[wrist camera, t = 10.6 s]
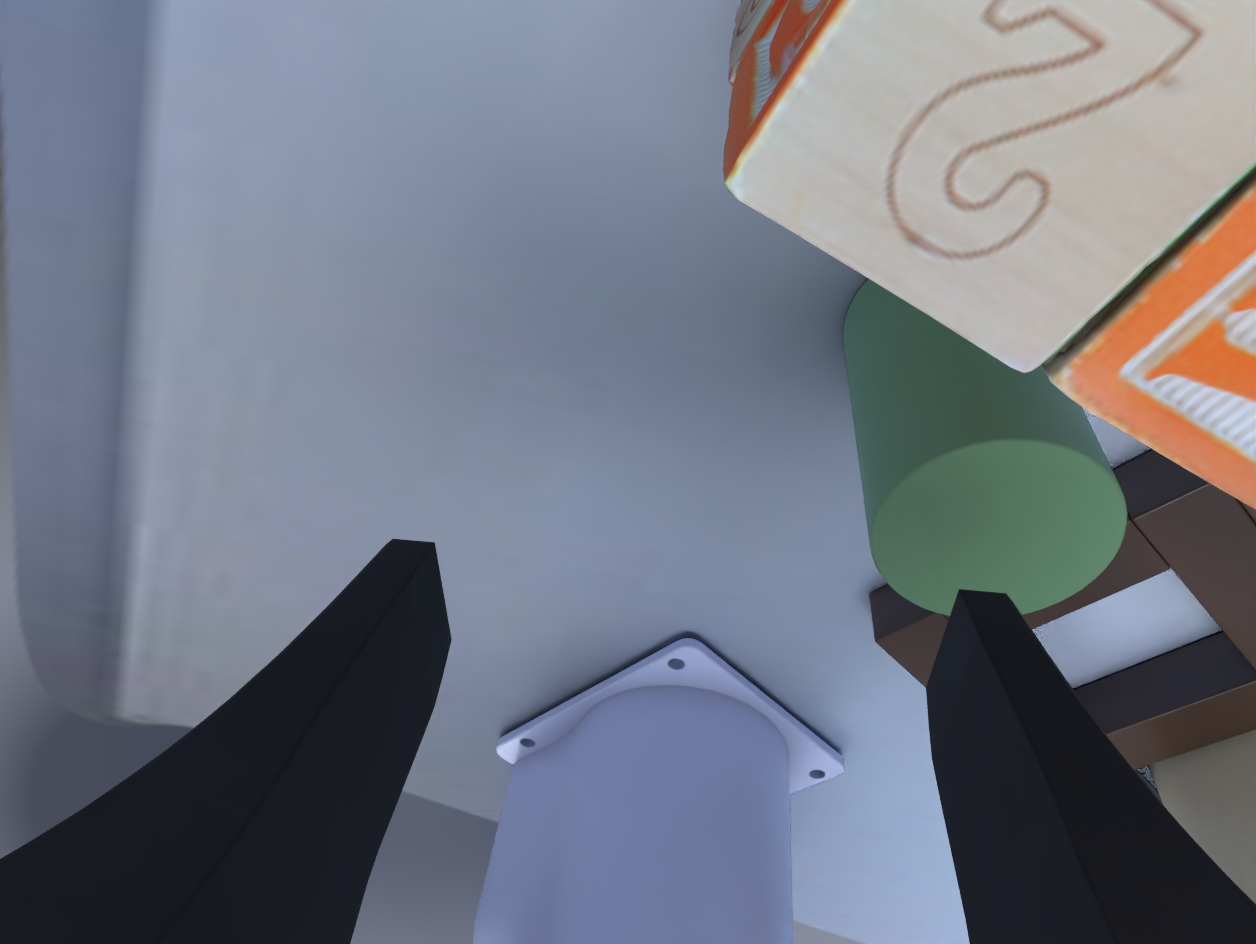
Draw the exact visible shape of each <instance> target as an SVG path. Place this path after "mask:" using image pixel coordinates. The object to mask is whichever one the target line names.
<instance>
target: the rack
mask: <svg viewBox="0 0 1256 944" xmlns="http://www.w3.org/2000/svg"><path fill="white" fill-rule="evenodd" d="M1113 473H1114V475H1115V477H1116V479H1117V481H1118V483H1119V485H1120V487H1121V490H1122V492H1123V495H1124V497H1125V502H1126V507H1127V524H1126V529H1125V534H1124V538H1123V540H1122V543H1121V545H1120V548H1119V550H1118V551H1117V553H1116V555H1115V556H1114V558H1113V560H1112V561H1111V562H1110V563H1109V565H1108V566H1107V567H1106V569H1105V570H1104V571H1103V572H1102V573H1101V574H1100V575H1099V576H1098V577H1097V578H1096V579H1095V580H1093V581H1092V582H1091V583H1089V584H1088V585H1087V586H1086V587H1084V588H1083V589H1081V590H1080V591H1078V592H1077V593H1075V594H1073V595H1072V596H1070V597H1068V598H1066V599H1064V600H1062V601H1060V602H1058V603H1056V604H1054V605H1051V606H1049V607H1046V608H1043V609H1040V610H1037V611H1034V612H1030V613H1027V614H1022V616H1023V618H1024V619H1025V621H1026V622H1027V624H1028V625H1029V627H1030V628H1031V630H1032V629H1034V628H1036V627H1039V626H1041V625H1043V624H1046V623H1048V622H1050V621H1052V620H1055V619H1057V618H1059V617H1062V616H1064V615H1066V614H1068V613H1071V612H1073V611H1075V610H1078V609H1080V608H1082V607H1084V606H1087V605H1089V604H1091V603H1094V602H1096V601H1098V600H1100V599H1103V598H1105V597H1107V596H1110V595H1112V594H1114V593H1116V592H1119V591H1121V590H1123V589H1126V588H1128V587H1130V586H1132V585H1135V584H1137V583H1139V582H1142V581H1144V580H1146V579H1148V578H1151V577H1153V576H1155V575H1158V574H1160V573H1162V572H1164V571H1167V570H1169V569H1170V567H1171V568H1172V569H1173V571H1174V572H1175V573H1176V574H1177V576H1178V577H1179V578H1180V579H1181V580H1182V582H1183V583H1184V584H1185V585H1186V586H1187V588H1188V589H1189V590H1190V591H1191V593H1192V594H1193V595H1194V596H1195V597H1196V599H1197V600H1198V601H1199V602H1200V603H1201V605H1202V606H1203V607H1204V608H1205V610H1206V611H1207V612H1208V613H1209V614H1210V616H1211V617H1212V618H1213V619H1214V620H1215V622H1216V623H1217V624H1218V625H1219V627H1220V628H1221V629H1222V630H1223V631H1224V632H1221V633H1219V634H1216V635H1214V636H1211V637H1209V638H1206V639H1203V640H1201V641H1198V642H1196V643H1193V644H1191V645H1188V646H1186V647H1183V648H1180V649H1178V650H1175V651H1173V652H1170V653H1168V654H1165V655H1163V656H1160V657H1157V658H1155V659H1152V660H1150V661H1147V662H1145V663H1142V664H1140V665H1137V666H1134V667H1132V668H1129V669H1127V670H1124V671H1122V672H1119V673H1117V674H1114V675H1111V676H1109V677H1106V678H1104V679H1101V680H1099V681H1096V682H1094V683H1091V684H1088V685H1086V686H1083V687H1081V688H1078V689H1076V690H1074V692H1075V693H1076V694H1077V696H1078V697H1079V699H1080V700H1081V701H1082V703H1083V704H1084V705H1085V707H1086V708H1087V709H1088V711H1089V712H1090V713H1091V715H1092V716H1093V717H1094V719H1095V720H1096V721H1097V723H1098V724H1099V725H1100V727H1101V728H1102V729H1103V731H1104V732H1105V733H1106V735H1107V736H1108V737H1109V739H1110V740H1111V741H1112V743H1113V744H1114V745H1115V746H1116V748H1117V749H1118V750H1119V752H1120V753H1121V754H1122V755H1123V757H1124V758H1125V759H1126V760H1127V762H1128V763H1129V764H1130V765H1131V767H1132V768H1133V769H1134V770H1135V772H1136V773H1137V774H1138V775H1139V776H1140V778H1141V779H1142V780H1143V781H1144V782H1145V784H1146V785H1147V786H1148V787H1149V789H1150V790H1151V791H1152V792H1153V793H1154V795H1155V796H1156V797H1157V798H1158V799H1159V801H1160V802H1161V803H1162V801H1161V798H1160V796H1159V793H1158V792H1157V791H1156V790H1155V789H1154V788H1153V787H1152V786H1151V785H1150V784H1149V783H1148V782H1147V781H1146V780H1145V779H1144V778H1143V777H1142V776H1141V775H1140V774H1139V773H1138V772H1137V771H1136V769H1139V768H1142V767H1145V766H1148V765H1151V764H1154V763H1157V762H1160V761H1163V760H1166V759H1169V758H1172V757H1175V756H1178V755H1181V754H1184V753H1187V752H1190V751H1193V750H1196V749H1199V748H1202V747H1205V746H1208V745H1211V744H1214V743H1217V742H1220V741H1223V740H1226V739H1229V738H1232V737H1235V736H1238V735H1241V734H1244V733H1247V732H1250V731H1253V730H1256V510H1255V509H1254V508H1252V507H1250V506H1248V505H1247V504H1245V503H1243V502H1242V501H1240V500H1238V499H1236V498H1235V497H1233V496H1231V495H1229V494H1228V493H1226V492H1224V491H1223V490H1221V489H1219V488H1217V487H1216V486H1214V485H1212V484H1211V483H1209V482H1207V481H1205V480H1204V479H1202V478H1200V477H1198V476H1197V475H1195V474H1193V473H1192V472H1190V471H1188V470H1186V469H1185V468H1183V467H1181V466H1180V465H1178V464H1176V463H1175V462H1173V461H1171V460H1170V459H1168V458H1166V457H1165V456H1163V455H1161V454H1160V453H1158V452H1156V451H1155V450H1152V451H1150V452H1148V453H1146V454H1144V455H1142V456H1140V457H1138V458H1136V459H1134V460H1132V461H1130V462H1128V463H1126V464H1125V465H1123V466H1121V467H1119V468H1117V469H1115V470H1113ZM869 596H870V604H871V613H872V621H873V629H874V637H875V642H876V643H877V644H878V645H879V646H880V647H882V648H883V649H884V650H885V651H886V652H887V653H888V654H889V655H890V656H892V657H893V658H894V659H895V660H896V661H897V662H898V663H899V664H900V665H901V666H903V667H904V668H905V669H906V670H907V671H908V672H909V673H910V674H911V675H912V676H914V677H915V678H916V679H917V680H918V681H919V682H920V683H921V684H922V685H924V686H925V687H926V685H927V682H928V679H929V676H930V673H931V670H932V668H933V665H934V662H935V659H936V656H937V653H938V650H939V647H940V644H941V641H942V638H943V635H944V632H945V629H946V626H947V623H948V620H949V617H950V616H948V615H944V614H939V613H936V612H933V611H930V610H927V609H924V608H922V607H920V606H918V605H916V604H914V603H912V602H910V601H909V600H907V599H905V598H904V597H902V596H901V595H900V594H899V593H897V592H896V591H895V590H894V589H893V588H892V587H891V586H890V585H887V586H885V587H883V588H881V589H879V590H877V591H875V592H873V593H871V594H870V595H869ZM1162 804H1163V803H1162Z"/></svg>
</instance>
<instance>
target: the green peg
mask: <svg viewBox="0 0 1256 944" xmlns="http://www.w3.org/2000/svg"><path fill="white" fill-rule="evenodd" d="M843 345H844V352H845V360H846V367H847V375H848V382H849V390H850V397H851V405H852V413H853V420H854V428H855V435H856V443H857V450H858V458H859V466H860V473H861V481H862V488H863V496H864V503H865V511H866V518H867V526H868V534H869V541H870V548H871V553H872V557H873V560H874V562H875V565H876V567H877V569H878V571H879V572H880V574H881V575H882V577H883V578H884V580H885V581H886V582H887V583H888V584H889V585H890V586H891V587H892V588H893V589H894V590H895V591H896V592H897V593H899V594H900V595H901V596H902V597H904V598H905V599H907V600H909V601H910V602H912V603H914V604H916V605H918V606H920V607H922V608H924V609H927V610H930V611H933V612H936V613H939V614H944V615H948V616H950V614H951V611H952V608H953V605H954V602H955V599H956V596H957V593H958V590H959V589H964V590H975V591H986V592H998V593H1006V594H1007V595H1008V596H1009V597H1010V599H1011V600H1012V601H1013V603H1014V604H1015V606H1016V607H1017V609H1018V610H1019V612H1020V613H1021V615H1022V614H1027V613H1030V612H1034V611H1037V610H1040V609H1043V608H1046V607H1049V606H1051V605H1054V604H1056V603H1058V602H1060V601H1062V600H1064V599H1066V598H1068V597H1070V596H1072V595H1073V594H1075V593H1077V592H1078V591H1080V590H1081V589H1083V588H1084V587H1086V586H1087V585H1088V584H1089V583H1091V582H1092V581H1093V580H1095V579H1096V578H1097V577H1098V576H1099V575H1100V574H1101V573H1102V572H1103V571H1104V570H1105V569H1106V567H1107V566H1108V565H1109V563H1110V562H1111V561H1112V560H1113V558H1114V556H1115V555H1116V553H1117V551H1118V550H1119V548H1120V545H1121V543H1122V540H1123V538H1124V534H1125V529H1126V524H1127V507H1126V502H1125V497H1124V495H1123V492H1122V490H1121V487H1120V485H1119V483H1118V481H1117V479H1116V477H1115V475H1114V473H1113V471H1112V469H1111V467H1110V464H1109V462H1108V460H1107V458H1106V456H1105V454H1104V452H1103V450H1102V448H1101V446H1100V444H1099V442H1098V440H1097V438H1096V436H1095V434H1094V431H1093V429H1092V427H1091V425H1090V423H1089V421H1088V419H1087V417H1086V415H1085V413H1084V411H1083V409H1082V407H1081V406H1080V405H1079V404H1077V403H1076V402H1075V401H1073V400H1072V399H1070V398H1069V397H1068V396H1066V395H1065V394H1064V393H1063V392H1062V391H1061V390H1059V389H1058V388H1057V387H1056V386H1055V385H1053V384H1052V383H1051V382H1050V380H1049V378H1048V376H1047V374H1046V372H1045V371H1044V369H1043V367H1042V365H1041V366H1039V367H1037V368H1036V369H1034V370H1032V371H1030V372H1027V373H1023V372H1020V371H1018V370H1016V369H1013V368H1011V367H1009V366H1008V365H1006V364H1004V363H1003V362H1001V361H1000V360H998V359H997V358H995V357H993V356H992V355H990V354H989V353H987V352H986V351H984V350H982V349H981V348H979V347H978V346H976V345H975V344H973V343H971V342H970V341H968V340H967V339H965V338H963V337H962V336H960V335H959V334H957V333H956V332H954V331H952V330H951V329H949V328H948V327H946V326H945V325H943V324H941V323H940V322H938V321H937V320H935V319H933V318H932V317H930V316H929V315H927V314H925V313H924V312H922V311H921V310H919V309H917V308H916V307H914V306H912V305H911V304H909V303H908V302H906V301H904V300H903V299H901V298H899V297H898V296H896V295H895V294H893V293H891V292H890V291H888V290H886V289H885V288H883V287H882V286H880V285H878V284H877V283H875V282H873V281H872V280H870V279H868V280H867V281H866V282H865V283H864V284H863V285H862V287H861V288H860V289H859V291H858V292H857V293H856V295H855V297H854V298H853V300H852V302H851V304H850V306H849V309H848V311H847V313H846V317H845V321H844V328H843Z"/></svg>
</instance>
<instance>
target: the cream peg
mask: <svg viewBox="0 0 1256 944" xmlns="http://www.w3.org/2000/svg"><path fill="white" fill-rule="evenodd" d="M1148 766H1149V769H1150V772H1151V774H1152V777H1153V780H1154V782H1155V785H1156V788H1157V790H1158V793H1159V796H1160V798H1161V801H1162V803H1163V805H1164V806H1165V808H1166V809H1167V810H1168V811H1169V812H1170V813H1171V815H1172V816H1173V817H1174V818H1175V819H1176V820H1177V821H1178V823H1179V824H1180V825H1181V826H1182V827H1183V828H1184V829H1185V830H1186V832H1187V833H1188V834H1189V835H1190V836H1191V837H1192V838H1193V839H1194V840H1195V842H1196V843H1197V844H1198V845H1199V846H1200V847H1201V848H1202V849H1203V850H1204V851H1205V852H1206V853H1207V854H1208V855H1209V857H1210V858H1211V859H1212V860H1213V861H1214V862H1215V863H1216V864H1217V865H1218V866H1219V867H1220V868H1221V869H1222V870H1223V871H1224V872H1225V874H1226V875H1227V876H1228V877H1229V878H1230V879H1231V880H1232V881H1233V882H1234V883H1235V884H1236V885H1237V886H1238V887H1239V888H1240V889H1241V890H1242V891H1243V892H1244V893H1245V894H1246V895H1247V896H1248V897H1249V898H1250V899H1251V900H1252V901H1253V902H1254V903H1255V904H1256V730H1253V731H1250V732H1247V733H1244V734H1241V735H1238V736H1235V737H1232V738H1229V739H1226V740H1223V741H1220V742H1217V743H1214V744H1211V745H1208V746H1205V747H1202V748H1199V749H1196V750H1193V751H1190V752H1187V753H1184V754H1181V755H1178V756H1175V757H1172V758H1169V759H1166V760H1163V761H1160V762H1157V763H1154V764H1151V765H1148Z"/></svg>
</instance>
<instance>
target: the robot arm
mask: <svg viewBox="0 0 1256 944" xmlns="http://www.w3.org/2000/svg"><path fill="white" fill-rule="evenodd" d="M450 644H451V634H450V628H449V622H448V617H447V611H446V605H445V599H444V594H443V588H442V582H441V576H440V570H439V565H438V559H437V553H436V547H435V543H434V542H423V541H412V540H400V539H392V540H391V541H390V542H388V543H387V544H386V545H385V546H384V547H383V548H382V549H381V550H380V551H379V553H378V554H377V555H376V556H375V557H374V558H373V559H372V560H371V561H370V562H369V563H368V564H367V565H366V566H365V567H364V568H363V570H362V571H361V572H360V573H359V574H358V575H357V576H356V577H355V578H354V579H353V580H352V581H351V582H350V583H349V584H348V585H347V587H346V588H345V589H344V590H343V591H342V592H341V593H340V594H339V595H338V596H337V597H336V598H335V599H334V600H333V601H332V602H331V603H330V604H329V605H328V606H327V607H326V608H325V609H324V610H323V611H322V612H321V613H320V614H319V615H318V616H317V617H316V618H315V619H314V620H313V621H312V622H311V623H310V624H309V625H308V626H307V627H306V628H305V629H304V630H303V631H302V632H301V633H300V634H299V635H298V636H297V637H296V638H295V639H294V640H293V641H292V642H291V643H290V644H289V645H288V646H287V647H286V648H285V649H284V650H283V651H282V652H281V653H280V654H279V655H278V656H276V657H275V658H274V659H273V660H272V661H271V662H270V663H269V664H268V665H267V666H265V667H264V668H263V669H262V670H261V671H260V672H259V673H258V674H257V675H255V676H254V677H253V678H252V679H251V680H250V681H249V682H248V683H247V684H246V685H244V686H243V687H242V688H241V689H240V690H239V691H238V692H237V693H236V694H234V695H233V696H232V697H231V698H230V699H229V700H228V701H226V702H225V703H224V704H223V705H222V706H220V707H219V708H218V709H217V710H216V711H214V712H213V713H212V714H211V715H210V716H208V717H207V718H206V719H205V720H204V721H202V722H201V723H200V724H199V725H197V726H196V727H195V728H194V729H192V730H191V731H190V732H189V733H187V734H186V735H185V736H183V737H182V738H181V739H180V740H178V741H177V742H176V743H174V744H173V745H172V746H171V747H169V748H168V749H167V750H165V751H164V752H163V753H161V754H160V755H159V756H157V757H156V758H155V759H153V760H152V761H150V762H149V763H148V764H146V765H145V766H143V767H142V768H141V769H139V770H138V771H136V772H135V773H134V774H132V775H131V776H130V777H128V778H127V779H125V780H124V781H122V782H121V783H120V784H118V785H117V786H115V787H114V788H112V789H111V790H109V791H108V792H106V793H105V794H103V795H102V796H101V797H99V798H98V799H96V800H95V801H93V802H92V803H90V804H89V805H88V806H86V807H85V808H83V809H81V810H80V811H78V812H77V813H75V814H73V815H72V816H70V817H69V818H67V819H65V820H64V821H62V822H61V823H59V824H57V825H56V826H54V827H53V828H51V829H49V830H48V831H46V832H45V833H43V834H41V835H40V836H38V837H36V838H35V839H34V840H32V841H30V842H28V843H27V844H25V845H23V846H22V847H20V848H18V849H17V850H15V851H13V852H12V853H10V854H8V855H6V856H5V857H3V858H1V859H0V944H350V942H351V939H352V935H353V932H354V928H355V925H356V921H357V917H358V914H359V911H360V907H361V903H362V900H363V896H364V893H365V890H366V886H367V882H368V879H369V876H370V874H371V871H372V868H373V865H374V862H375V859H376V856H377V853H378V850H379V848H380V845H381V843H382V840H383V837H384V835H385V832H386V830H387V827H388V824H389V822H390V820H391V817H392V815H393V812H394V809H395V807H396V804H397V802H398V799H399V797H400V794H401V792H402V789H403V787H404V784H405V781H406V779H407V776H408V774H409V771H410V769H411V766H412V764H413V761H414V759H415V756H416V753H417V751H418V748H419V746H420V743H421V740H422V738H423V735H424V733H425V730H426V727H427V725H428V722H429V720H430V717H431V714H432V712H433V709H434V706H435V703H436V699H437V695H438V692H439V688H440V684H441V680H442V677H443V673H444V668H445V664H446V660H447V656H448V652H449V648H450ZM675 659H680V660H675ZM926 692H927V705H928V719H929V731H930V742H931V752H932V760H933V765H934V770H935V776H936V780H937V785H938V790H939V795H940V800H941V805H942V810H943V814H944V819H945V824H946V829H947V833H948V838H949V843H950V847H951V852H952V857H953V862H954V866H955V871H956V876H957V880H958V885H959V890H960V895H961V899H962V904H963V909H964V914H965V918H966V924H967V930H968V936H969V942H970V944H1256V904H1255V903H1254V902H1253V901H1252V900H1251V899H1250V898H1249V897H1248V896H1247V895H1246V894H1245V893H1244V892H1243V891H1242V890H1241V889H1240V888H1239V887H1238V886H1237V885H1236V884H1235V883H1234V882H1233V881H1232V880H1231V879H1230V878H1229V877H1228V876H1227V875H1226V874H1225V872H1224V871H1223V870H1222V869H1221V868H1220V867H1219V866H1218V865H1217V864H1216V863H1215V862H1214V861H1213V860H1212V859H1211V858H1210V857H1209V855H1208V854H1207V853H1206V852H1205V851H1204V850H1203V849H1202V848H1201V847H1200V846H1199V845H1198V844H1197V843H1196V842H1195V840H1194V839H1193V838H1192V837H1191V836H1190V835H1189V834H1188V833H1187V832H1186V830H1185V829H1184V828H1183V827H1182V826H1181V825H1180V824H1179V823H1178V821H1177V820H1176V819H1175V818H1174V817H1173V816H1172V815H1171V813H1170V812H1169V811H1168V810H1167V809H1166V808H1165V806H1164V805H1163V804H1162V803H1161V802H1160V801H1159V799H1158V798H1157V797H1156V796H1155V795H1154V793H1153V792H1152V791H1151V790H1150V789H1149V787H1148V786H1147V785H1146V784H1145V782H1144V781H1143V780H1142V779H1141V778H1140V776H1139V775H1138V774H1137V773H1136V772H1135V770H1134V769H1133V768H1132V767H1131V765H1130V764H1129V763H1128V762H1127V760H1126V759H1125V758H1124V757H1123V755H1122V754H1121V753H1120V752H1119V750H1118V749H1117V748H1116V746H1115V745H1114V744H1113V743H1112V741H1111V740H1110V739H1109V737H1108V736H1107V735H1106V733H1105V732H1104V731H1103V729H1102V728H1101V727H1100V725H1099V724H1098V723H1097V721H1096V720H1095V719H1094V717H1093V716H1092V715H1091V713H1090V712H1089V711H1088V709H1087V708H1086V707H1085V705H1084V704H1083V703H1082V701H1081V700H1080V699H1079V697H1078V696H1077V694H1076V693H1075V692H1074V690H1073V689H1072V687H1071V686H1070V685H1069V683H1068V682H1067V680H1066V679H1065V678H1064V676H1063V675H1062V673H1061V672H1060V670H1059V669H1058V668H1057V666H1056V665H1055V663H1054V662H1053V660H1052V659H1051V658H1050V656H1049V655H1048V653H1047V652H1046V650H1045V649H1044V647H1043V646H1042V644H1041V643H1040V641H1039V640H1038V638H1037V637H1036V635H1035V634H1034V633H1033V631H1032V630H1031V628H1030V627H1029V625H1028V624H1027V622H1026V621H1025V619H1024V618H1023V616H1022V615H1021V613H1020V612H1019V610H1018V609H1017V607H1016V606H1015V604H1014V603H1013V601H1012V600H1011V599H1010V597H1009V596H1008V595H1007V594H1006V593H998V592H986V591H975V590H964V589H959V590H958V593H957V596H956V599H955V602H954V605H953V608H952V611H951V614H950V617H949V620H948V623H947V626H946V629H945V632H944V635H943V638H942V641H941V644H940V647H939V650H938V653H937V656H936V659H935V662H934V665H933V668H932V670H931V673H930V676H929V679H928V682H927V685H926ZM496 752H497V754H498V755H499V756H500V757H502V758H503V759H505V760H506V761H508V762H509V763H511V764H512V765H513V768H512V772H511V776H510V780H509V784H508V788H507V792H506V796H505V800H504V804H503V808H502V812H501V816H500V820H499V824H498V828H497V832H496V836H495V840H494V845H493V849H492V853H491V857H490V860H489V864H488V868H487V872H486V877H485V881H484V885H483V888H482V892H481V896H480V901H479V905H478V909H477V913H476V918H475V925H474V935H473V944H793V911H792V868H791V825H790V794H793V793H795V792H798V791H800V790H803V789H806V788H808V787H811V786H813V785H816V784H818V783H821V782H823V781H826V780H828V779H831V778H833V777H836V776H838V775H840V774H841V773H843V771H844V758H843V757H842V756H841V755H840V754H839V753H838V752H836V751H835V750H834V749H833V748H831V747H830V746H829V745H828V744H826V743H825V742H824V741H823V740H822V739H820V738H819V737H818V736H817V735H815V734H814V733H813V732H812V731H810V730H809V729H808V728H807V727H805V726H804V725H803V724H802V723H800V722H799V721H798V720H797V719H795V718H794V717H793V716H792V715H791V714H789V713H788V712H787V711H786V710H784V709H783V708H782V707H781V706H779V705H778V704H777V703H776V702H774V701H773V700H772V699H771V698H769V697H768V696H767V695H766V694H764V693H763V692H762V691H761V690H760V689H758V688H757V687H756V686H755V685H753V684H752V683H751V682H750V681H748V680H747V679H746V678H745V677H743V676H742V675H741V674H740V673H738V672H737V671H736V670H735V669H733V668H732V667H731V666H730V665H728V664H727V663H726V662H725V661H724V660H722V659H721V658H720V657H719V656H717V655H716V654H715V653H714V652H712V651H711V650H710V649H709V648H707V647H706V646H705V645H704V644H702V643H701V642H699V641H698V640H696V639H692V638H683V639H680V640H678V641H676V642H674V643H672V644H670V645H669V646H667V647H665V648H663V649H661V650H659V651H658V652H656V653H654V654H652V655H650V656H648V657H647V658H645V659H643V660H641V661H639V662H638V663H636V664H634V665H632V666H630V667H628V668H627V669H625V670H623V671H621V672H619V673H617V674H616V675H614V676H612V677H610V678H608V679H606V680H605V681H603V682H601V683H599V684H597V685H595V686H594V687H592V688H590V689H588V690H586V691H585V692H583V693H581V694H579V695H577V696H575V697H574V698H572V699H570V700H568V701H566V702H564V703H563V704H561V705H559V706H557V707H555V708H553V709H552V710H550V711H548V712H546V713H544V714H543V715H541V716H539V717H537V718H535V719H533V720H532V721H530V722H528V723H526V724H524V725H522V726H521V727H519V728H517V729H515V730H513V731H511V732H510V733H508V734H506V735H504V736H502V737H501V738H500V739H498V742H497V746H496Z"/></svg>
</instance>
